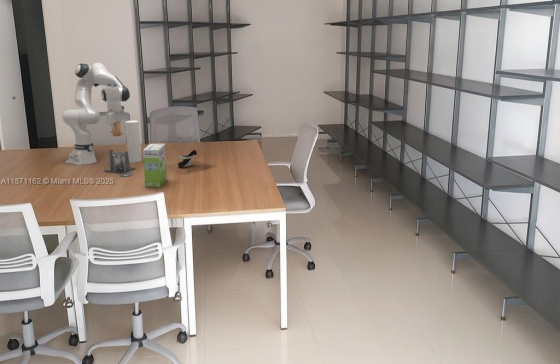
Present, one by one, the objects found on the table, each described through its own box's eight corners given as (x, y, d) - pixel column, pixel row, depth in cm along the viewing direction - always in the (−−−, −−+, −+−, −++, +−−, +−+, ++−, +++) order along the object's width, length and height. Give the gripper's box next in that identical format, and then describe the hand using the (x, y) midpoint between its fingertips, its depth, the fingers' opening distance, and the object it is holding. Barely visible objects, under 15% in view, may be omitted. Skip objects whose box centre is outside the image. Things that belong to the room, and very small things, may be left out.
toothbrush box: (161, 187, 328) (158, 149, 321) (144, 187, 328) (141, 149, 321) (168, 179, 345) (165, 143, 338) (152, 179, 345) (149, 143, 338)
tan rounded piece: (108, 135, 361) (107, 122, 359) (115, 133, 366) (114, 120, 363) (118, 137, 355) (117, 123, 353) (125, 135, 360) (124, 122, 357)
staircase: (178, 168, 374) (177, 151, 371) (189, 165, 382) (188, 148, 378) (185, 170, 369) (184, 153, 365) (197, 167, 376) (196, 150, 372)
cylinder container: (138, 162, 388) (134, 122, 379) (126, 162, 390) (122, 121, 381) (143, 159, 397) (140, 119, 388) (132, 159, 399) (128, 119, 390)
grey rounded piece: (116, 176, 354) (116, 175, 353) (125, 172, 361) (125, 171, 361) (127, 177, 350) (126, 176, 350) (135, 174, 358) (135, 173, 358)
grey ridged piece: (104, 171, 364) (102, 151, 360) (118, 166, 377) (116, 147, 373) (121, 174, 358) (120, 153, 354) (135, 169, 371) (133, 149, 367)
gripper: (111, 111, 345) (113, 131, 349) (125, 106, 364) (127, 126, 368) (102, 110, 346) (104, 131, 350) (116, 106, 365) (118, 125, 369)
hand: (116, 128), depth 359 cm, fingers closed on tan rounded piece, 6 cm apart
